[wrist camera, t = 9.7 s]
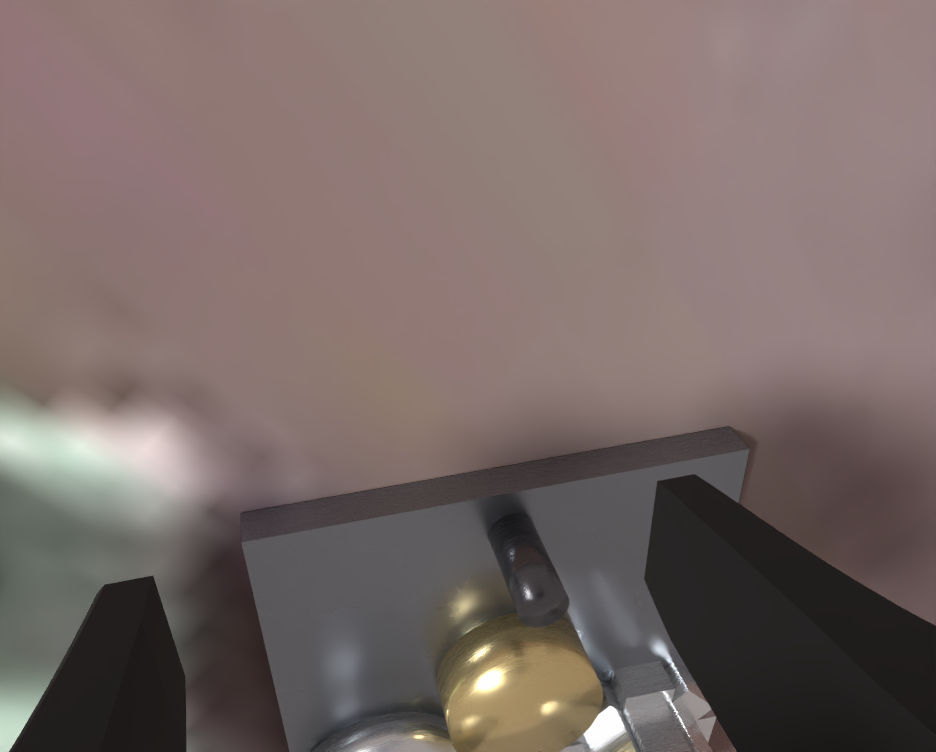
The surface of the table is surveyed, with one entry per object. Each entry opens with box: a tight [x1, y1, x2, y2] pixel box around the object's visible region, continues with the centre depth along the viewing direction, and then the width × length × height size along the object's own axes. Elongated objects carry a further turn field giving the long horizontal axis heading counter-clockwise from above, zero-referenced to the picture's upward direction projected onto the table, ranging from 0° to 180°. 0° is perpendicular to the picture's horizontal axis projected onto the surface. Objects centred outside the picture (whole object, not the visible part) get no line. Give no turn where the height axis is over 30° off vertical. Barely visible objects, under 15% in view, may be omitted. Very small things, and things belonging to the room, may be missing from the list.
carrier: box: [241, 427, 750, 752], centre depth 26 cm, size 15×15×4 cm
